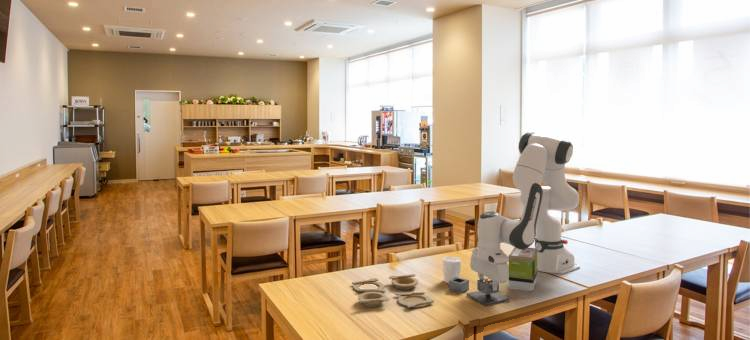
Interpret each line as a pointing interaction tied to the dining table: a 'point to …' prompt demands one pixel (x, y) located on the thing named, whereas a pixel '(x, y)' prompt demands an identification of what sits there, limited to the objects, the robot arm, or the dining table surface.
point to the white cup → (451, 268)
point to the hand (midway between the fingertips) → (488, 287)
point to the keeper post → (488, 297)
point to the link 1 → (459, 285)
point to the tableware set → (406, 298)
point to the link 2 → (486, 286)
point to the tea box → (523, 269)
